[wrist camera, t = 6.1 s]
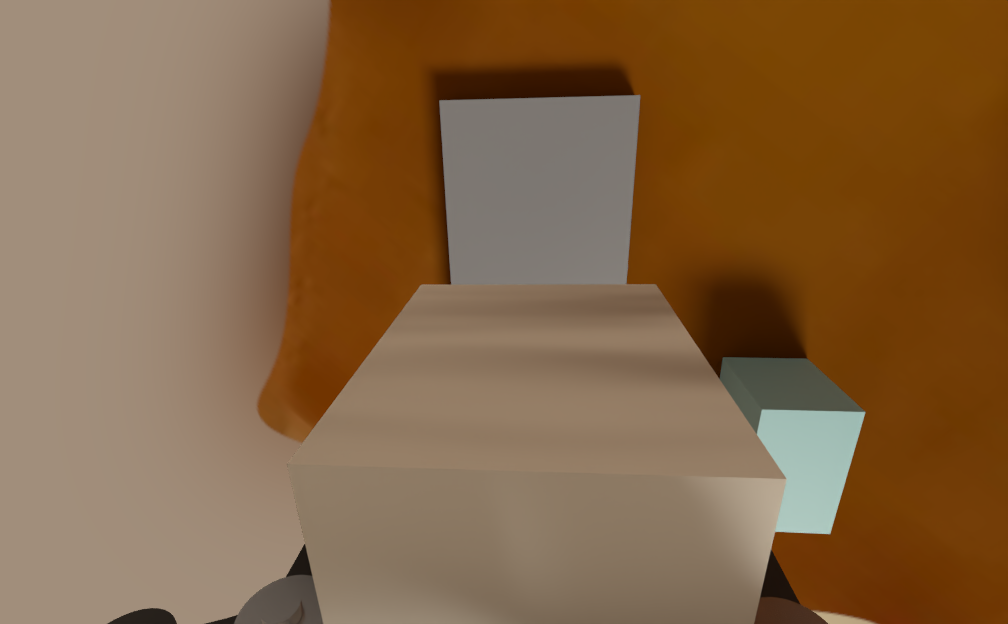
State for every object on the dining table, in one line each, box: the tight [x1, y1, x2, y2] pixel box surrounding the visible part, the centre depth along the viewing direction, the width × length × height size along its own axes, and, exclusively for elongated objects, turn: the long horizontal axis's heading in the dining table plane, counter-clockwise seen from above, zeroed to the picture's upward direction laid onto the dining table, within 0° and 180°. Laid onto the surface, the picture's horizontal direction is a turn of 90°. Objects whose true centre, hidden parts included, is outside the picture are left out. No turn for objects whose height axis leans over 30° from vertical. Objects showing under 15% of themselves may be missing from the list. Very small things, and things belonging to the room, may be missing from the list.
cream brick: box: [287, 284, 787, 624], centre depth 9 cm, size 8×5×6 cm, turn 2°
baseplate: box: [439, 95, 640, 285], centre depth 28 cm, size 16×10×2 cm, turn 1°
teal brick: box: [720, 357, 865, 534], centre depth 29 cm, size 8×5×6 cm, turn 1°
